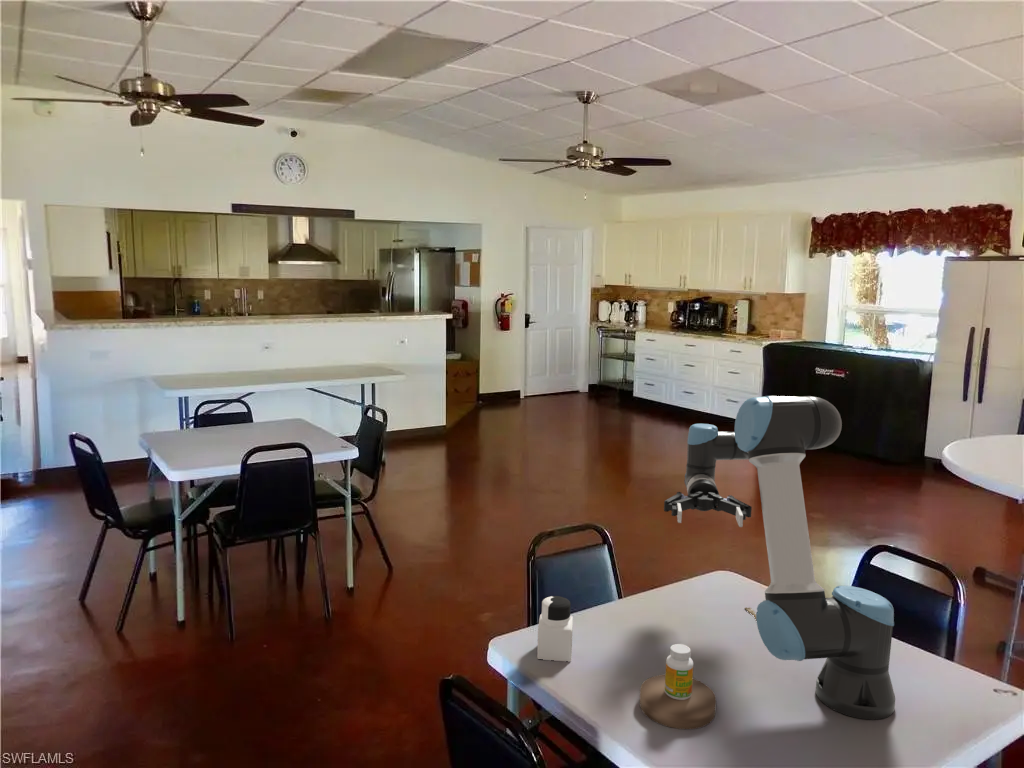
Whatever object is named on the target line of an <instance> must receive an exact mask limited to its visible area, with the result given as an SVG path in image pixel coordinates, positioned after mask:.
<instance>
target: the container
mask: <svg viewBox="0 0 1024 768" xmlns="http://www.w3.org/2000/svg"><path fill="white" fill-rule="evenodd" d="M573 623H574V617H573V615H571V601H570V600H569V599H568V598H566V597H563V596H559V595H551V596H548V597H545V598H543V599H542V601H541V614H540V615H539V619H538V626H537V648H536V649H537V652H536V654H537V660H538V659H543V660H542V661H551V660H554V662H566V661H568V663H570V662H572V658H573V657H572V653H573V652H572V651H573V627H574V624H573Z"/></svg>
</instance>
